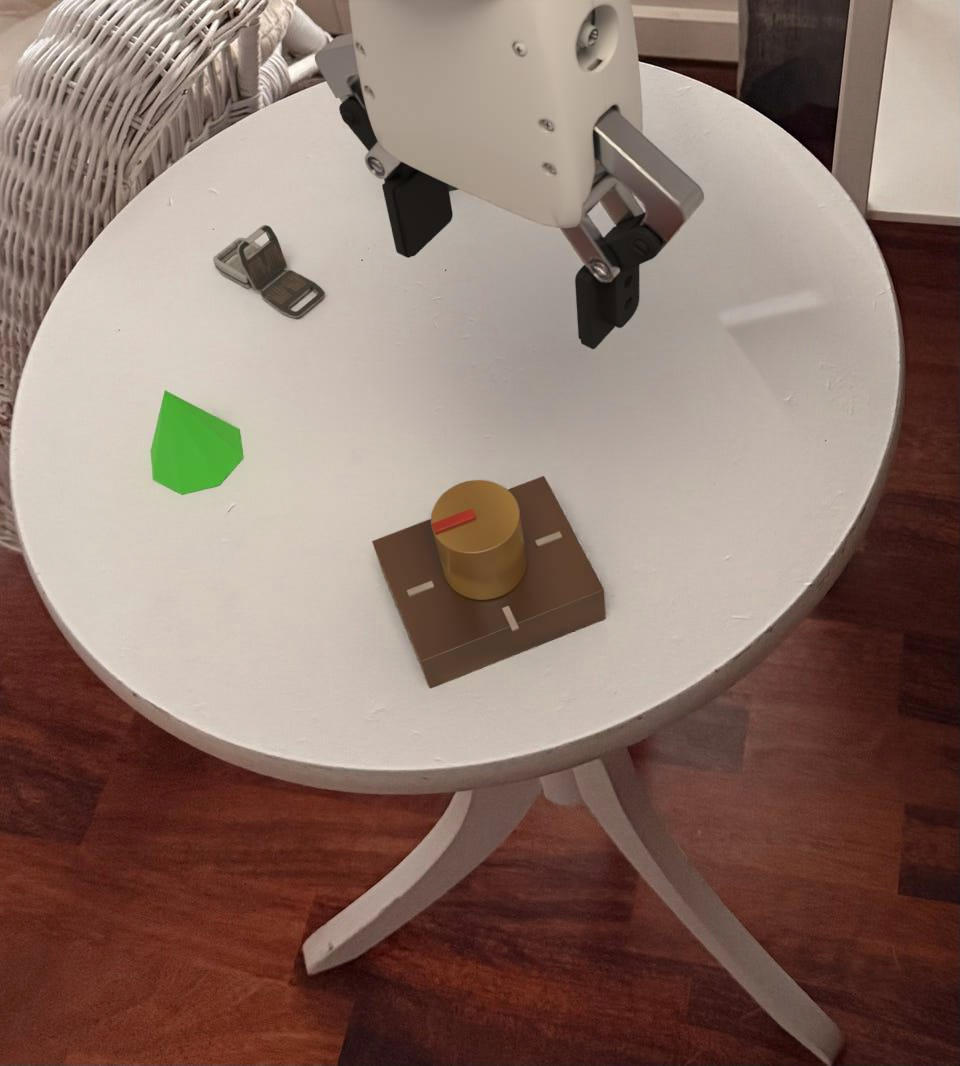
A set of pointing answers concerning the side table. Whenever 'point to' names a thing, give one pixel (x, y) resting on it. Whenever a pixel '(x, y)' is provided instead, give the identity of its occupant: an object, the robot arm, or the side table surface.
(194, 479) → the gemstone
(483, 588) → the knob
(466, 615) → the panel
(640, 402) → the side table surface
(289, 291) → the strap clip
